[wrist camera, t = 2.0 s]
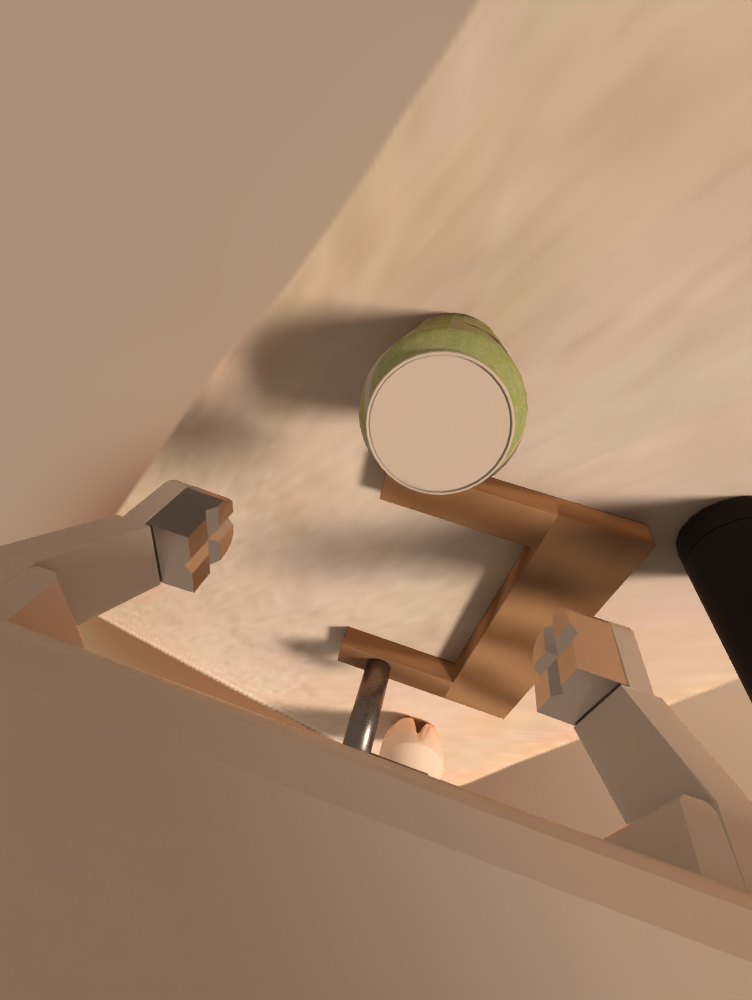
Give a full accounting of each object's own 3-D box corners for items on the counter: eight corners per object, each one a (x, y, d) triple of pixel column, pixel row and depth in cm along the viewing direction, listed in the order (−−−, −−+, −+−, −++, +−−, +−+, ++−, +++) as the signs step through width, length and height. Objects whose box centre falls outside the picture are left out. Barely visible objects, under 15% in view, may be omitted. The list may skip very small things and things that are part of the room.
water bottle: (404, 705, 46) (331, 1071, 27) (458, 732, 47) (426, 1112, 27) (377, 725, 51) (297, 1053, 31) (426, 750, 51) (379, 1088, 32)
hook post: (374, 637, 41) (331, 780, 31) (446, 662, 40) (427, 816, 30) (370, 650, 42) (328, 791, 32) (439, 675, 41) (418, 825, 31)
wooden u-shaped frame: (395, 448, 28) (388, 462, 26) (646, 525, 26) (655, 545, 25) (343, 643, 42) (337, 660, 41) (503, 699, 41) (503, 719, 40)
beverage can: (391, 399, 26) (326, 512, 16) (417, 269, 21) (349, 321, 12) (488, 426, 25) (480, 558, 16) (537, 297, 21) (565, 375, 11)
